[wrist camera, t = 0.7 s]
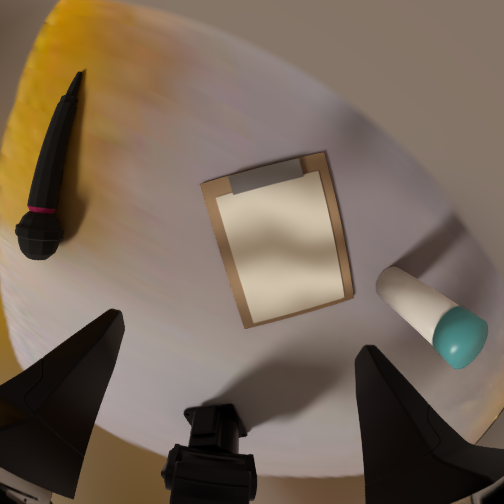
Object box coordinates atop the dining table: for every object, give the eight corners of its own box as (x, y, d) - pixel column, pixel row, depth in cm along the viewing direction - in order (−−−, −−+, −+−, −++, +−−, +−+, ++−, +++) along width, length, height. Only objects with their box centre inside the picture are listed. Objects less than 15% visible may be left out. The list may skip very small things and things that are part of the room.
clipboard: (352, 296, 26) (356, 300, 25) (244, 327, 26) (244, 332, 25) (322, 152, 22) (326, 151, 21) (200, 184, 23) (198, 184, 22)
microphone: (82, 86, 23) (45, 252, 25) (49, 69, 17) (6, 255, 19) (112, 77, 21) (70, 263, 23) (76, 55, 16) (26, 268, 18)
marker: (406, 293, 26) (483, 354, 13) (376, 305, 26) (447, 377, 13) (404, 261, 25) (491, 311, 12) (373, 271, 25) (454, 333, 12)
